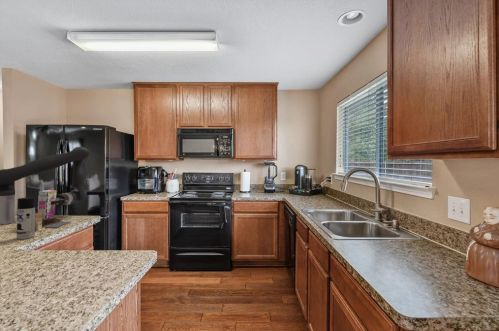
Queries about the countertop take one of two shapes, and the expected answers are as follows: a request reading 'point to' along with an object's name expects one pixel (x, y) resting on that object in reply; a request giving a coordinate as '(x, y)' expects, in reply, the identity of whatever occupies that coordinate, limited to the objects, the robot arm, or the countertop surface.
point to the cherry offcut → (38, 217)
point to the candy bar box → (46, 203)
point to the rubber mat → (57, 225)
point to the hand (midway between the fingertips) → (45, 203)
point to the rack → (49, 220)
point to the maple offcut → (39, 224)
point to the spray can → (25, 218)
